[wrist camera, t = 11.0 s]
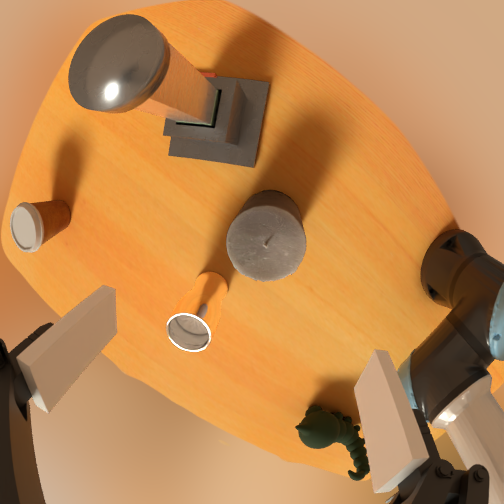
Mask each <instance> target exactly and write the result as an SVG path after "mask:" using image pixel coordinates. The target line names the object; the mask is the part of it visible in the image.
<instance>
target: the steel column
mask: <svg viewBox="0 0 504 504" xmlns="http://www.w3.org/2000/svg"><path fill="white" fill-rule="evenodd" d="M68 78H69V88H70V92H71V94H72V96H73V98H74V99H75V101H76V102H77V103H78V104H79V105H81V106H82V107H84V108H86V109H90V110H95V111H101V112H107V113H123V112H127V111H129V110H132V109H136V110H139V111H143V112H147V113H150V114H154V115H157V116H161V117H164V118H167V119H171V120H174V121H176V122H179V123H184V124H187V125H192V126H202V127H211V128H215V125H216V120H217V114H218V109H219V104H220V98H221V94H220V93H219V91H218V90H217V89H216V88H215V87H214V86H213V85H212V84H211V83H210V82H209V81H208V80H207V79H206V78H205V77H204V76H203V75H202V74H201V73H200V72H199V71H198V70H197V69H196V68H195V67H194V66H193V65H192V64H191V63H190V62H189V61H188V60H186V59H185V58H184V57H183V56H182V55H181V54H180V53H179V52H178V51H177V50H176V49H175V48H174V47H173V46H172V45H171V44H169V43H168V41H167V39H166V37H165V36H164V35H163V34H162V33H161V32H160V31H159V30H158V29H157V28H156V27H155V26H154V25H152V24H151V23H150V22H149V21H148V20H147V19H145V18H143V17H141V16H138V15H130V14H127V15H120V16H116V17H113V18H111V19H109V20H107V21H105V22H103V23H101V24H100V25H98V26H97V27H96V28H94V29H93V30H92V31H91V32H90V33H89V34H88V35H87V36H86V37H85V38H84V40H83V41H82V42H81V44H80V45H79V47H78V48H77V50H76V52H75V54H74V56H73V59H72V61H71V65H70V69H69V77H68Z"/></svg>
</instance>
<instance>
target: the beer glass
mask: <svg viewBox="0 0 504 504" xmlns="http://www.w3.org/2000/svg"><path fill="white" fill-rule="evenodd" d="M227 291H228V286H227V282H226V280H225V279H224V278H223V277H222V276H221V275H220V274H218V273H215V272H204V273H202V274H200V275H199V276H198V277H197V279H196V281H195V285H194V288H193V289H191V290H190V291H189V292H188V293H186V294H185V295H184V296H183V297H182V298H181V299H180V300H179V302H178V303H177V304H176V306H175V308H174V309H173V311H172V313H171V315H170V318H169V319H168V321H167V324H166V331H167V335H168V337H169V338H170V340H171V341H172V342H173V343H174V344H175V345H176V346H178V347H179V348H181V349H183V350H186V351H192V352H195V351H201V350H203V349H205V348H206V347H207V346H208V345H209V344H210V342H211V339H212V337H213V336H214V334H215V332H216V329H217V327H218V324H219V320H220V314H221V301H222V300H223V299H224V298H225V296H226V294H227Z"/></svg>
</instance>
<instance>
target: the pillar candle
mask: <svg viewBox="0 0 504 504" xmlns="http://www.w3.org/2000/svg"><path fill="white" fill-rule="evenodd" d="M226 247H227V252H228V255H229V258H230V260H231V261H232V263H233V266H234V268H236V269H237V270H238V271H239V272H240V273H241V274H242V275H245V276H247V277H250V278H252V279H254V280H256V281H257V280H260V281H263V282H265V281H276V280H279V279H282V278H285V277H286V276H288V275H289V274H291V275H292V274H293V273H294V272H295V271H296V270H297V267H298V266H299V265H300V263H301V262H302V259H303V257H304V254H305V251H306V236H305V232H304V228H303V224H302V220H301V216H300V212H299V209H298V207H297V205H296V204H295V203H294V201H293V200H292V199H291V198H290V197H289V196H287V195H286V194H284V193H282V192H279V191H275V190H264V191H262V192H260V193H258V194H254V195H253V196H252V197H250V198H249V199H248V200H247V202H246V203H245V204H244V206H243V207H242V209H241V210H240V212H239V213H238V215H237V216H236V217H235V219H234V220H233V222H232V223H231V225H230V227H229V230H228V233H227V239H226Z"/></svg>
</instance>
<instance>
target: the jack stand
mask: <svg viewBox="0 0 504 504" xmlns="http://www.w3.org/2000/svg"><path fill="white" fill-rule="evenodd" d="M200 73H201V74H202V75H203V76H204V77H205V78H206V79H207V80H208V81H209V82H210V83H211V84H212V85H213V86H214V87H215V88H216V89H217V90H218V91H219V93H220V94H221V98H220V104H219V109H218V114H217V120H216V125H215V128H211V127H202V126H192V125H187V124H184V123H179V122H176V121H174V120H171V119H167V118H166V120H165V126H164V132H163V135H164V136H171V141H170V147H169V154H168V156H177V157H185V158H193V159H201V160H208V161H215V162H222V163H228V164H235V165H241V166H247V167H252V168H254V166H255V161H256V155H257V149H258V144H259V138H260V133H261V127H262V122H263V117H264V111H265V106H266V101H267V95H268V90H269V82H263V81H256V80H248V79H240V78H231V77H220V76H217V75H216V74H215V73H205V72H200Z"/></svg>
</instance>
